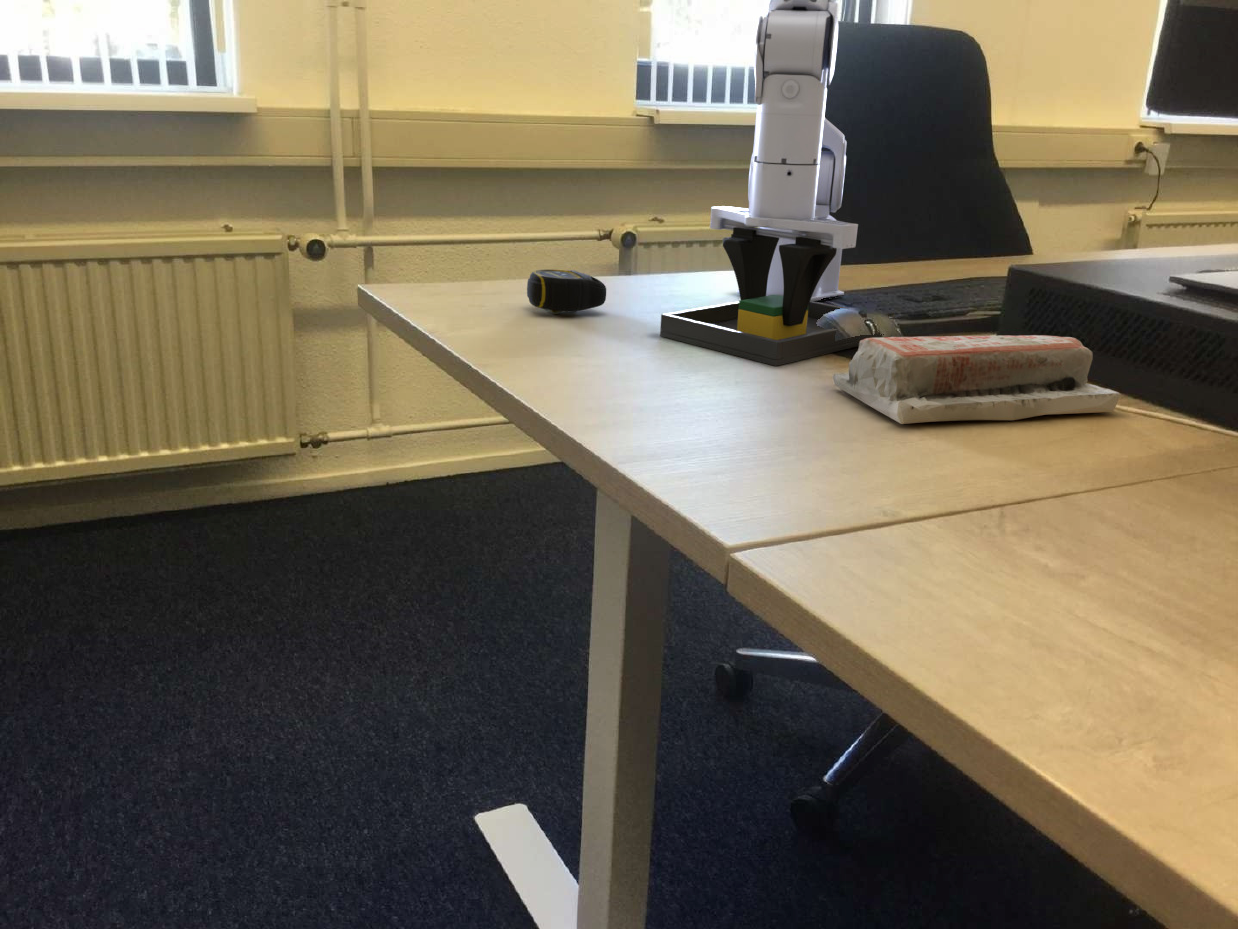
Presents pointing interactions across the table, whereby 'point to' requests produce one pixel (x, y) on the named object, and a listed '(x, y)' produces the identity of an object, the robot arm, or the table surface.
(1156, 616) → the table surface
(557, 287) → the tape measure
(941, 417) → the packaged product
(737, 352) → the tray
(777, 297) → the sponge
